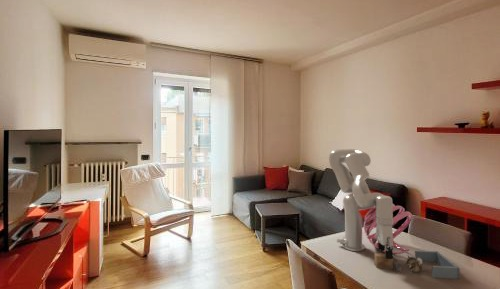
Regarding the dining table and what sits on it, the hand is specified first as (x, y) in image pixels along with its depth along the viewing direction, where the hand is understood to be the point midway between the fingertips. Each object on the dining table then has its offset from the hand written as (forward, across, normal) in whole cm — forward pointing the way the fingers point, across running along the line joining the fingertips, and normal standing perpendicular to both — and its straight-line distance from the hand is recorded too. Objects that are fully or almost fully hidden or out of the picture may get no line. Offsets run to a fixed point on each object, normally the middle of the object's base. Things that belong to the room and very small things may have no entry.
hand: (385, 254), depth 133 cm
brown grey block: (+7, -1, 0) cm, 7 cm away
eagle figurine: (+7, 0, +13) cm, 15 cm away
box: (+7, -1, +24) cm, 25 cm away
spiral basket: (+6, -23, +10) cm, 26 cm away
